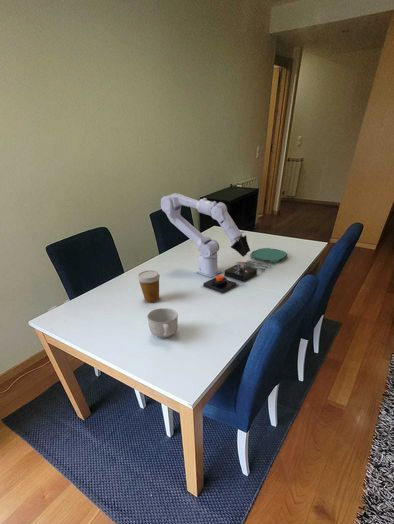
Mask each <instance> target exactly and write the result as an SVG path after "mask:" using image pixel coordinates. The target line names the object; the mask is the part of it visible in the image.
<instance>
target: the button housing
mask: <svg viewBox="0 0 394 524" xmlns="http://www.w3.org/2000/svg"><path fill="white" fill-rule="evenodd" d="M202 286H203V287H204V288H207V289H209V290H211V291H215V292H217V293H220V294H225V293H226V292H228V291H230V290H232V289H234V288H235V287H237V282H235V281H232V280H229V279H228V278H227V277H226V276H224V280H223V281H216V276H214V277H213V278H211V279H209V280H207V281H205V282H203V285H202Z"/></svg>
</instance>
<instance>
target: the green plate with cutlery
mask: <svg viewBox="0 0 394 524" xmlns="http://www.w3.org/2000/svg"><path fill="white" fill-rule="evenodd" d="M249 257H250V258H251V259H254V260H256V261H253V260H246V261H244V262H245V266H247V267H251V268H255V269H257V271H258V270H259V271H260V270H261V271H264V272H265V271H266V269H269V268H271V267H272V265H269V264H265V263H262V262H268V263H269V262H271V263H272V264H273V265H275V264H277V263H278V262H279V261H283V260H284V259H286V258H287V257H288V253H287V252H286V251H285V250H281V249H277V248H270V247H261V248H258V249H255V250H253V251H252V252H250V254H249ZM258 261H260V262H258Z"/></svg>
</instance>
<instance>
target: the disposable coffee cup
mask: <svg viewBox="0 0 394 524" xmlns="http://www.w3.org/2000/svg"><path fill="white" fill-rule="evenodd" d="M160 276H161V275H160V274H159V272H158V271H156V270H153V269H148V270H147V269H146V270H143V271H141V272H139V273H138V274H137V278H136V279H137V281H138V283H139V285H140V288H141V292H142V295H143V298H144V301H145V303H149V304H152V303H153V304H154V303H157V302H159V300H160Z"/></svg>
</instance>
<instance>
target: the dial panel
mask: <svg viewBox="0 0 394 524" xmlns="http://www.w3.org/2000/svg"><path fill="white" fill-rule="evenodd" d="M223 273H224V274H223V276H224V277H225V278H230V279H233V280H236V281H239V282H242V283H244V282H246V281H248V280H249V279H252V278H253V277H255V276H257V275H258V269H255V268H251V267H247V266H245V270H244V271H237V264H234V265H233V266H231V267H228V268H226V269H225V270H224V271H223Z"/></svg>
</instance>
